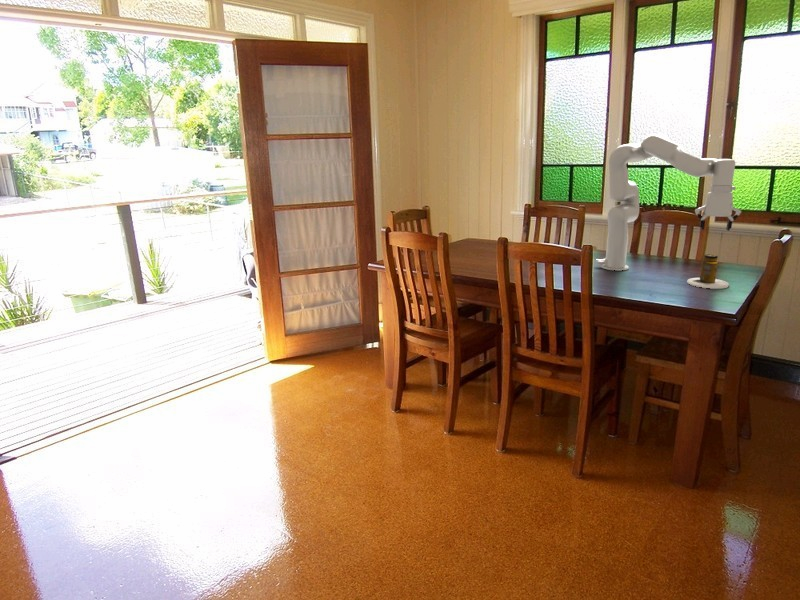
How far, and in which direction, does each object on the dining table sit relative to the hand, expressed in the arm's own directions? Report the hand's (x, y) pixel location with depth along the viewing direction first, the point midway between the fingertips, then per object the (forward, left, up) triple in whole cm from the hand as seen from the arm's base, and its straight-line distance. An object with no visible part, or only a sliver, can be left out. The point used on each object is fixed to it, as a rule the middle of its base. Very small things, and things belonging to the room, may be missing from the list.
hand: (715, 229), depth 232 cm
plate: (0, 0, -24) cm, 24 cm away
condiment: (-1, 0, -24) cm, 24 cm away
